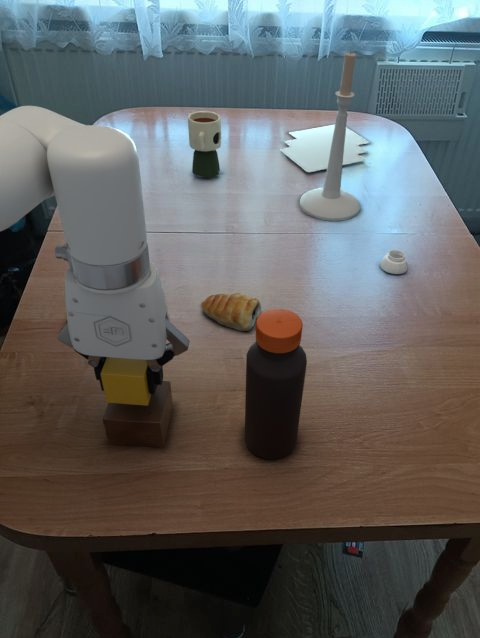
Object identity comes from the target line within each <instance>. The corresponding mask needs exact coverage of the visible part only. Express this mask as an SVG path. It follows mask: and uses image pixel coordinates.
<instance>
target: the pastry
mask: <svg viewBox="0 0 480 638" xmlns="http://www.w3.org/2000/svg"><path fill="white" fill-rule="evenodd" d="M200 305H201V306H200V307H201V308H202V310H203V313H204V314H205V315H206V316H207V317H210V319H212V320H214V321H215V322H217V323H218V324H219V325H222V326H225V327H227V328H230V329H234V330H236V331H240V332H249V331H251V329H252V328H253V327H254V326H255V324H256V319H257V318H258V316H259V315H260V314H262V305H261V302H260V300H259V298H256V297H254V298H253V297H252V296H249V295H246V294H241V293H239V292H235V293H228V294H227V293H218V294H211V295H209V296H207V297H206V299H204V300H203V301H201V304H200Z"/></svg>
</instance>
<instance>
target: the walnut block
mask: <svg viewBox="0 0 480 638" xmlns="http://www.w3.org/2000/svg"><path fill="white" fill-rule="evenodd" d="M173 407H174V401H173V394H172V386H171V381H170V380H163V382H162V385H157V389H156V392H155V395H152V394H151V396H150V400H149V404H148V406H146V405H133V404H120V403H107V405H106V408H105V411H104V414H103V417H102V423H103V427H104V431H105V435H106V438H107V442H108V445H117V446H129V447H130V446H131V447H145V448H146V447H148V448H160V449H161V448H165V443H166V439H167V434H168V430H169V425H170V421H171V416H172V413H173Z"/></svg>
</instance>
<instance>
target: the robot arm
mask: <svg viewBox="0 0 480 638" xmlns="http://www.w3.org/2000/svg"><path fill="white" fill-rule="evenodd" d="M52 197H55V200H56V205H57V209H58V214H59V218H60V222H61V226H62V232H63V236H64V240H65V244H57V245H55V248H54V255H55V258H56V259H61V260H63V261H66V262H67V263H68V266H69V268H68V269H67V271H66V272H65V274H64V299H65V301H64V302H65V312H66V321H68V322H67V323H66V322H65V324H64V325H63V327H62V328H60V330H59V332H58V334H57V340H58V341H59V342H61V343H63V344H64V345H66V346H67V347H69V348H73V351H74V352H76V353H77V354H78V355H80V356H81V357H82V358H84V359H86V360H87V364H88V365H89V366H90V367H92V368H93V371H94V376H95V379H96V381H99V385H100V390H101V391H102V392H104V388H103V383H102V379H101V371H102V369H103V366H104V363H105V361H106V358H107V357H113V358H126V359H141V360H146V362H147V364H148V368H147V372H146V375H147V382H148V390H149V393H150V394H152V395H155V392H156V389H157V385H162V382H163V381H164V369H163V368H164V367H163V366H165V365H167V364H168V363H169V362H171V361H173V359H174V358H175V357H177V356H180V355H181V354H184V353H185V352H187V351H188V350H189V348H190V347H189V346H190V339H189V338H188V337H187V336H186V335H185V334H183V332H182V331H181V330H180V329H179V328H177V327H176V326H175V325H174V324H173V323H172V322H171V321H170V315H169V309H168V303H167V298H166V294H165V289H164V287H163V283H162V280H161V277H160V274H159V271H158V269H157V267H156V264H155V263H153V262H150V253H149V242H148V236H147V225H146V214H145V206H144V197H143V187H142V179H141V168H140V160H139V154H138V148H137V146H136V144H135V142H134V141H133V139H132V138H131V137H130V135H128V133H126V132H124V131H122V130H120V129H118V128H116V127H112V126H107V125H97V124H95V125H93V124H91V125H90V124H89V125H88V124H84V123H80V122H78V121H76V120H73V119H71V118H68V117H66V116H64V115H62V114H60V113H57V112H55V111H53V110H50V109H48V108H44V107H41V106H37V105H20V106H18V107H15V108H11V109H10V110H8V111H6V112H5V113H2V114H1V115H0V232H3V231H5V230H7V229H8V228H11V227H12V226H13V225H15V224H16V223H17V222H19V221H20V220H21V219H22V218H24V217H25V216H27V214H29V213H30V212H31V211H32V210H34V209H35V208H36V207H38V206H39V205H40V204H41V203H42V202H44V201H45V200H48V199H50V198H52ZM167 341H168V343H167Z"/></svg>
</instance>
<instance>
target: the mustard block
mask: <svg viewBox="0 0 480 638" xmlns="http://www.w3.org/2000/svg"><path fill="white" fill-rule="evenodd" d="M147 368H148V364H147V362H146V360H141V359H126V358H113V357H107V358H106V361H105V363H104V366H103V369H102V371H101V379H102V383H103V388H104V391H103V392H104V396H105V401H106V403H107V404H108V403H120V404H133V405H146V406H148V404H149V400H150V396H151V394H150V393H149V390H148V382H147V375H146V372H147Z"/></svg>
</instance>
